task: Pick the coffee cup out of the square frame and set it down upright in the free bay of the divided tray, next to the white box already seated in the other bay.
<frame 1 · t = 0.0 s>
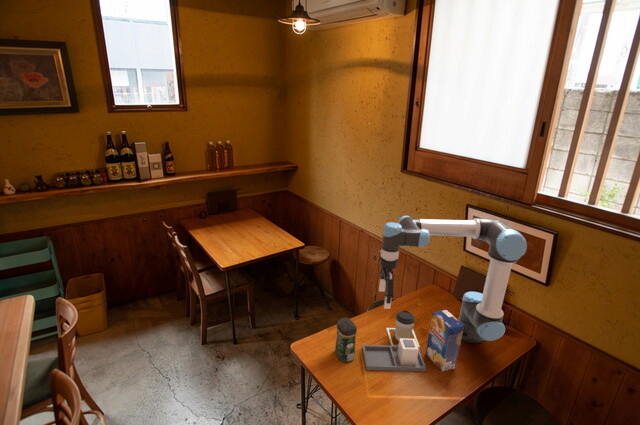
hand: (384, 299, 160), 28 cm above the table, fingers open, 13 cm apart
coffee cup: (402, 339, 177), resting in square frame
divided tray: (392, 361, 162), on the table
white box: (406, 359, 162), point 1 cm above the table, touching divided tray
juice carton: (439, 362, 163), on the table
square frame: (402, 339, 177), on the table
coffee jar: (344, 355, 165), on the table
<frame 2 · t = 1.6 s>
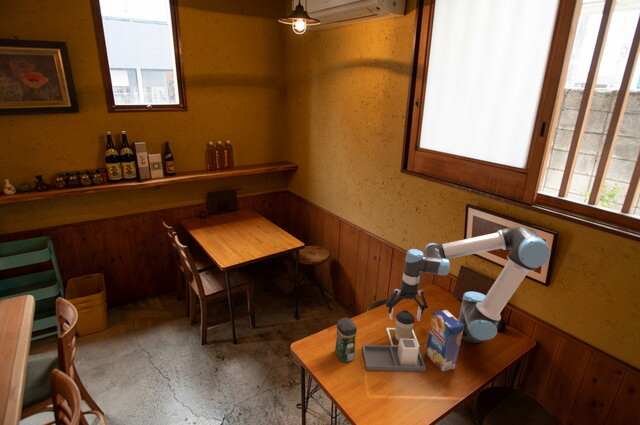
hand: (404, 318, 173), 12 cm above the table, fingers open, 13 cm apart
nothing on the table moved.
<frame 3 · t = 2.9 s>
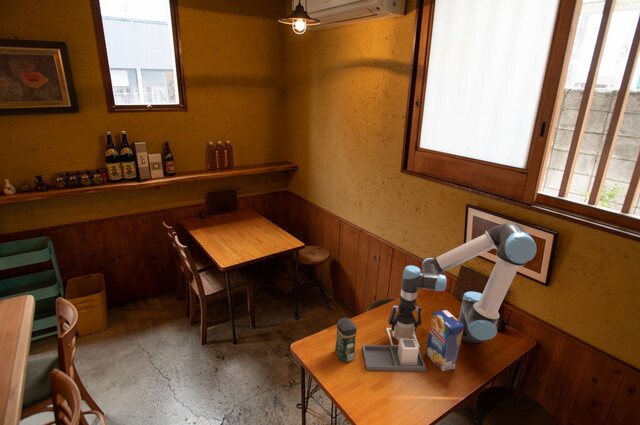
hand: (402, 335, 176), 2 cm above the table, fingers closed on coffee cup, 8 cm apart
coffee cup: (402, 339, 177), resting in square frame, touching gripper
everything else where it was.
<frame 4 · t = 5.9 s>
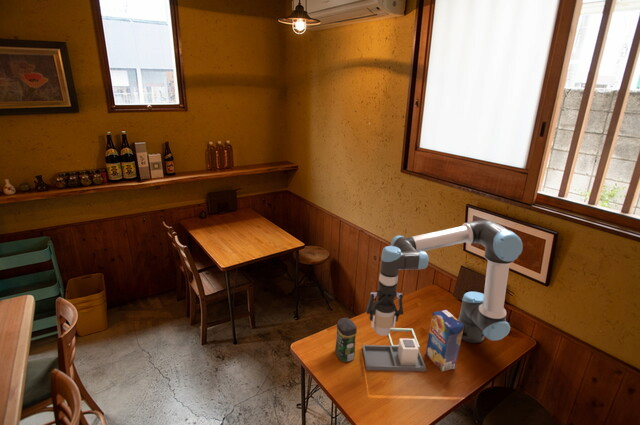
hand: (382, 326, 156), 19 cm above the table, fingers closed on coffee cup, 8 cm apart
coffee cup: (382, 331, 157), point 17 cm above the table, touching gripper
everything else where it was.
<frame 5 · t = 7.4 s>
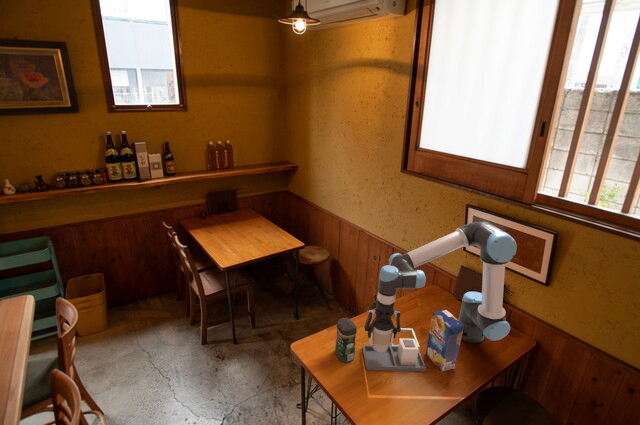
hand: (380, 343, 159), 10 cm above the table, fingers closed on coffee cup, 8 cm apart
coffee cup: (379, 347, 160), point 7 cm above the table, touching gripper
everything else where it was.
when the fingers open (6 cm above the table, at t = 8.7 s): coffee cup drops 2 cm, resting on divided tray.
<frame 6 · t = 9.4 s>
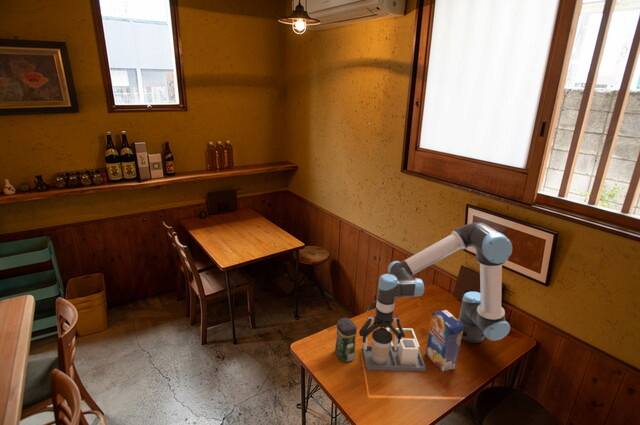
hand: (380, 348, 160), 7 cm above the table, fingers open, 13 cm apart
coffee cup: (379, 359, 162), point 1 cm above the table, touching divided tray
everything else where it was.
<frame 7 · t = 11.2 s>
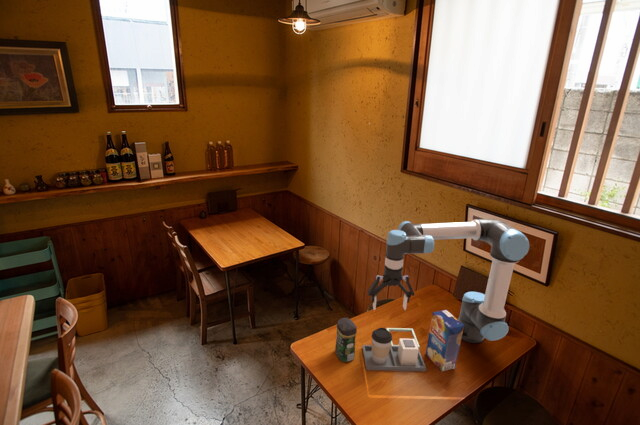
hand: (389, 308, 156), 26 cm above the table, fingers open, 13 cm apart
nothing on the table moved.
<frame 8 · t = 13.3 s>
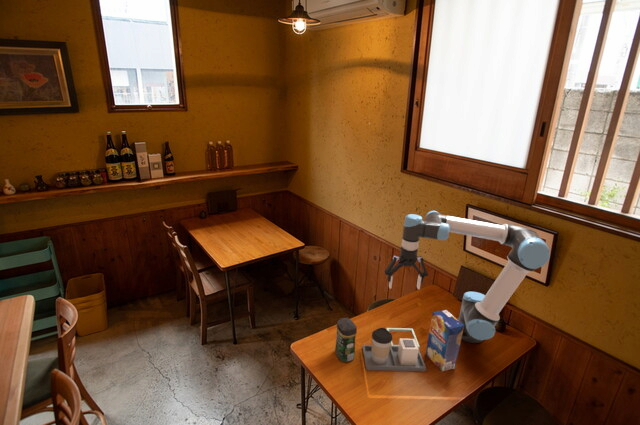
hand: (404, 287, 169), 29 cm above the table, fingers open, 13 cm apart
nothing on the table moved.
at the end: coffee cup inside the target area on the divided tray (0.1 cm from its centre), point 0.8 cm above the divided tray's base; coffee cup tilted 0°; coffee cup touching divided tray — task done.
